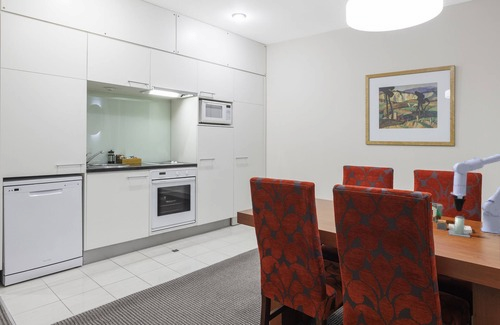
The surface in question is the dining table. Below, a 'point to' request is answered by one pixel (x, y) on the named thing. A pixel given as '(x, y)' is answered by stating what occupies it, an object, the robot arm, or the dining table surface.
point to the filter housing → (453, 227)
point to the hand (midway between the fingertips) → (458, 210)
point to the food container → (437, 211)
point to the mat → (459, 234)
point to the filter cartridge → (459, 225)
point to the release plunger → (442, 221)
